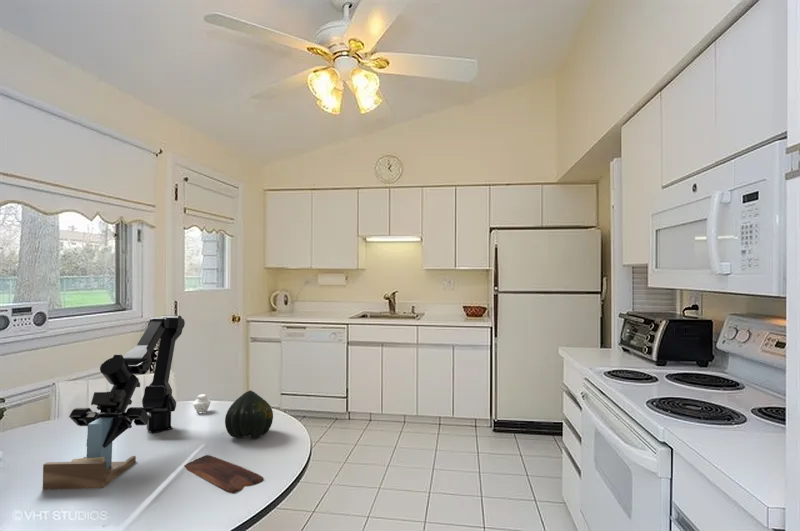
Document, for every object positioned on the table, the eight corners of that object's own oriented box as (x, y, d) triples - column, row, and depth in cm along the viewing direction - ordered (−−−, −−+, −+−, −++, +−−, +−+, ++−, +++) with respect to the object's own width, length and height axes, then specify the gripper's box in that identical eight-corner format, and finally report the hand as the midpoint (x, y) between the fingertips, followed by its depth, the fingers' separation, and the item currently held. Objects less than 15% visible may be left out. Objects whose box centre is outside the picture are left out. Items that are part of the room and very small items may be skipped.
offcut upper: (73, 468, 109) (73, 459, 109) (104, 466, 111) (104, 456, 111) (64, 476, 105) (64, 465, 105) (96, 473, 107) (96, 463, 107)
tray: (83, 465, 119) (84, 440, 119) (136, 464, 120) (136, 439, 120) (42, 493, 104) (43, 464, 104) (102, 492, 105) (103, 463, 105)
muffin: (213, 410, 168) (214, 392, 168) (203, 415, 162) (203, 396, 162) (200, 409, 169) (200, 391, 169) (189, 414, 163) (189, 395, 163)
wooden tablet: (177, 462, 120) (211, 446, 128) (178, 469, 120) (212, 453, 128) (231, 492, 104) (266, 472, 112) (232, 501, 104) (266, 480, 112)
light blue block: (98, 465, 117) (100, 417, 117) (111, 465, 117) (113, 417, 117) (85, 474, 112) (87, 424, 112) (99, 474, 112) (101, 424, 112)
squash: (245, 432, 130) (266, 387, 140) (208, 427, 136) (231, 384, 146) (269, 450, 140) (287, 407, 150) (233, 445, 145) (253, 403, 155)
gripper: (74, 378, 118) (42, 434, 107) (144, 378, 119) (120, 432, 108) (92, 399, 126) (64, 452, 114) (158, 398, 127) (137, 451, 116)
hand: (96, 447), depth 113 cm, fingers closed on light blue block, 4 cm apart
